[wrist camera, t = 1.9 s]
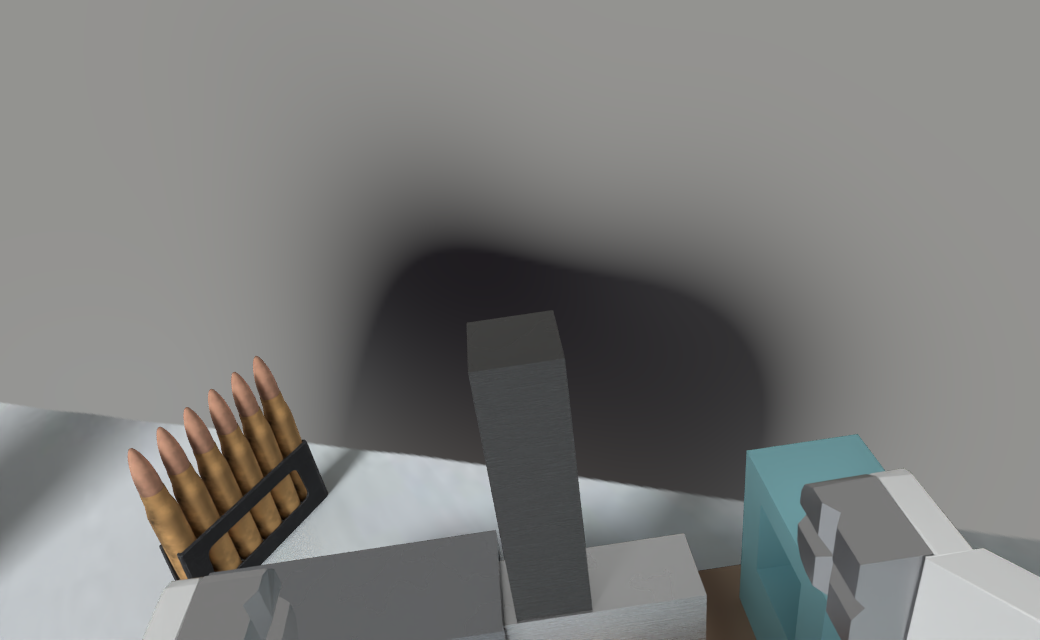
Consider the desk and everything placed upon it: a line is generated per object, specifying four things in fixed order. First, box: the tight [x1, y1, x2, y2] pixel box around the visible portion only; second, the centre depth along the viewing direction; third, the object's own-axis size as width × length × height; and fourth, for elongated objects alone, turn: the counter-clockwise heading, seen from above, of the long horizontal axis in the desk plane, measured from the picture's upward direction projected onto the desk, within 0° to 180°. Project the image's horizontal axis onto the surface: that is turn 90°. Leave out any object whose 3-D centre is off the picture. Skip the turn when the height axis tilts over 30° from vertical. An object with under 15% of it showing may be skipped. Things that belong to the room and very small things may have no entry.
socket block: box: [739, 434, 885, 640], centre depth 31 cm, size 5×8×10 cm, turn 5°
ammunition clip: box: [128, 356, 328, 581], centre depth 43 cm, size 11×2×12 cm, turn 152°
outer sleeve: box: [209, 530, 506, 640], centre depth 30 cm, size 12×5×5 cm, turn 95°
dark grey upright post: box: [467, 310, 707, 640], centre depth 27 cm, size 19×3×15 cm, turn 95°
